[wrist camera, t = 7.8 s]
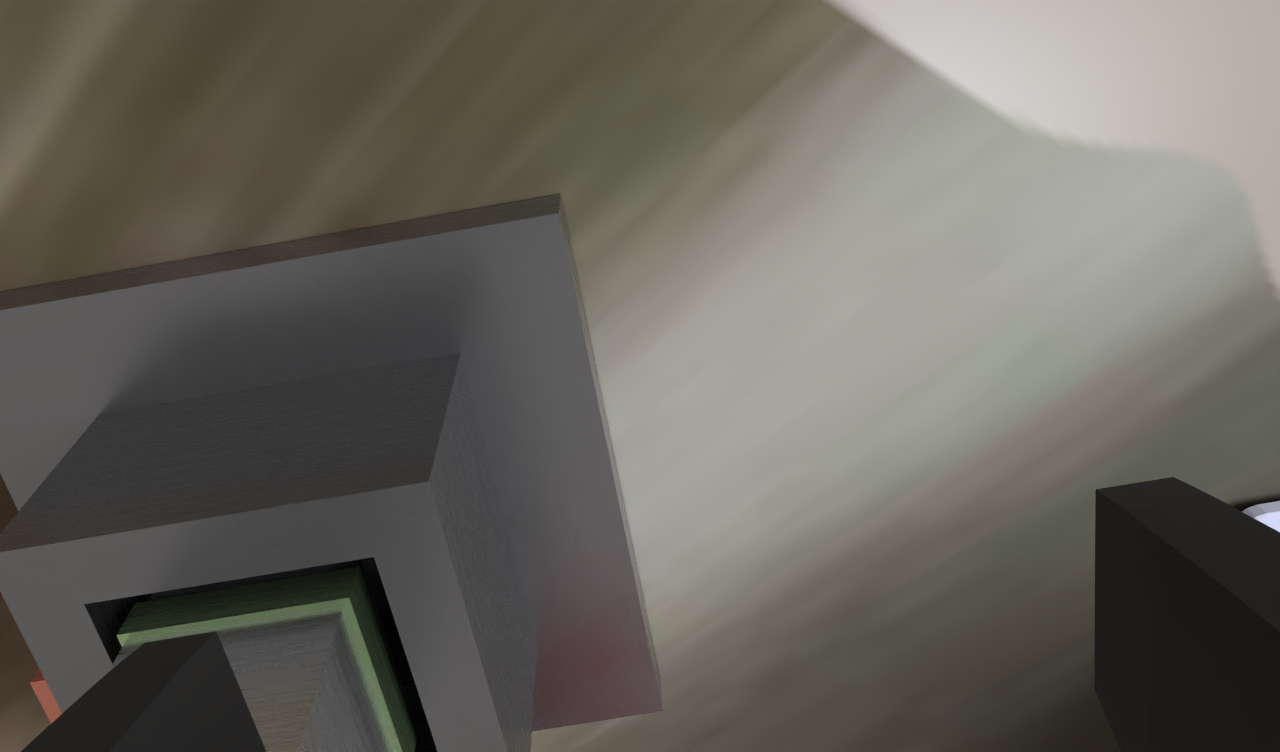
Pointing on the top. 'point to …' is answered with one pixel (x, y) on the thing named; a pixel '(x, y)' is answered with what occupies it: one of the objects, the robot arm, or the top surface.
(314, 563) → the grey square socket base
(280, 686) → the light grey rectangular block
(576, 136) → the top surface
